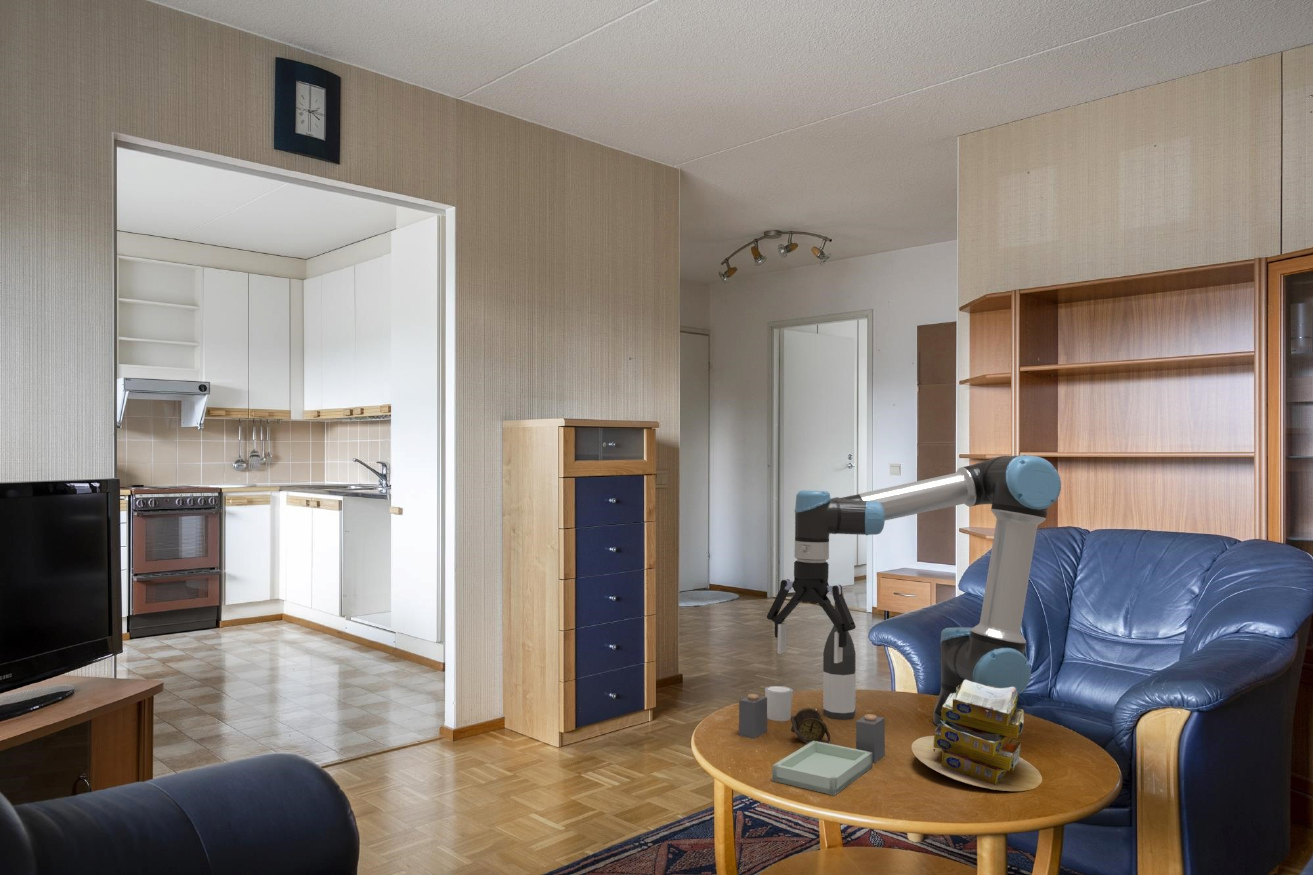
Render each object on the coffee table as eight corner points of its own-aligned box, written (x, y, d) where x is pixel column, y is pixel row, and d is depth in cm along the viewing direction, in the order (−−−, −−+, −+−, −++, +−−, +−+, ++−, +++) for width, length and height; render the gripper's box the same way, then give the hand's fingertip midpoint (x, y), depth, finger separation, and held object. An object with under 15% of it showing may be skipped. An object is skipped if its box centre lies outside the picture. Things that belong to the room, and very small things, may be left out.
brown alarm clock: (840, 715, 198) (797, 701, 201) (833, 725, 186) (788, 710, 189) (833, 746, 197) (789, 732, 201) (825, 759, 185) (780, 743, 189)
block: (884, 755, 186) (884, 714, 187) (874, 763, 181) (874, 720, 182) (866, 752, 189) (866, 710, 189) (856, 759, 184) (856, 717, 184)
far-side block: (766, 732, 202) (767, 693, 203) (754, 738, 197) (754, 699, 198) (751, 729, 205) (751, 691, 205) (739, 735, 200) (739, 696, 200)
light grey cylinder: (795, 722, 210) (795, 692, 211) (766, 721, 210) (766, 692, 211) (791, 713, 217) (791, 685, 217) (763, 713, 217) (763, 685, 218)
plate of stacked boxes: (1060, 770, 178) (1060, 687, 179) (1012, 804, 160) (1012, 711, 161) (944, 743, 195) (944, 667, 196) (889, 771, 177) (889, 687, 178)
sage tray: (872, 767, 179) (872, 752, 179) (834, 795, 163) (834, 779, 164) (813, 754, 186) (813, 740, 187) (772, 780, 171) (772, 765, 171)
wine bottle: (816, 715, 216) (816, 592, 217) (833, 708, 222) (833, 589, 223) (845, 721, 211) (845, 596, 212) (862, 714, 217) (862, 592, 218)
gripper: (753, 556, 198) (751, 651, 197) (857, 566, 183) (856, 669, 183) (769, 554, 204) (767, 646, 203) (871, 564, 189) (870, 663, 189)
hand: (809, 657), depth 193 cm, fingers open, 13 cm apart
